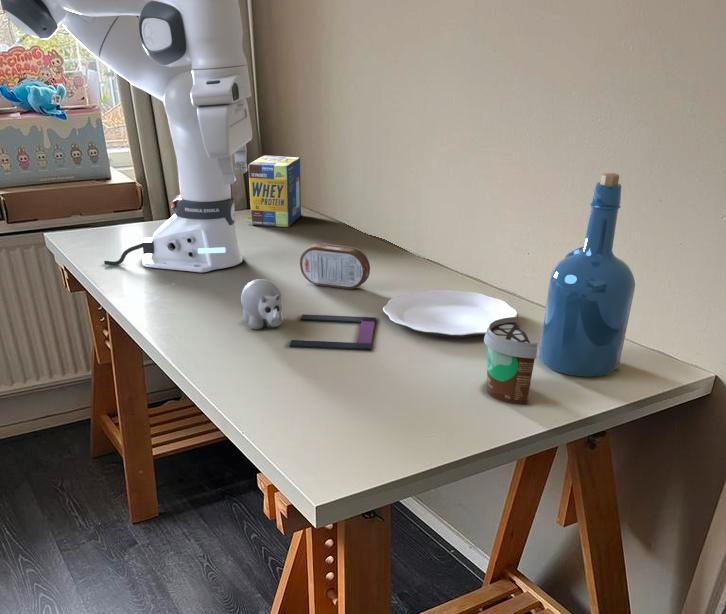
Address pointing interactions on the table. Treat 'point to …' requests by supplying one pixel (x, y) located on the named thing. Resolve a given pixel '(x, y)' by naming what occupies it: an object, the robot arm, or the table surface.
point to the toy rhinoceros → (261, 304)
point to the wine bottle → (589, 296)
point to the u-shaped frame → (362, 342)
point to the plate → (447, 312)
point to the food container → (509, 361)
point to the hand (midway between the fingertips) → (236, 178)
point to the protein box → (275, 190)
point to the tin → (334, 266)
